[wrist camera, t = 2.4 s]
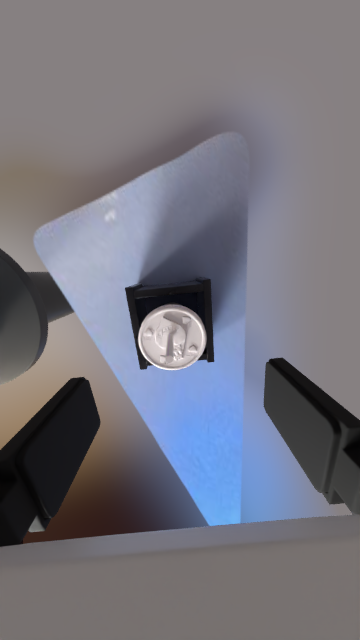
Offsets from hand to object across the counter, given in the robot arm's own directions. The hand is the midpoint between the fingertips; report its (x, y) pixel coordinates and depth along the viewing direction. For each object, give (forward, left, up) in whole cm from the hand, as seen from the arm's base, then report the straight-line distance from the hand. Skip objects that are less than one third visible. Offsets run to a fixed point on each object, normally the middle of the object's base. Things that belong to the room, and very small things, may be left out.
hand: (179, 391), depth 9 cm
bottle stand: (0, 0, -17) cm, 16 cm away
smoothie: (0, 0, -17) cm, 17 cm away
